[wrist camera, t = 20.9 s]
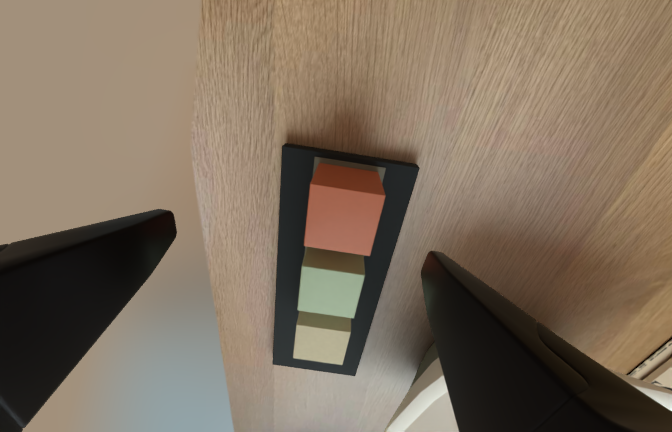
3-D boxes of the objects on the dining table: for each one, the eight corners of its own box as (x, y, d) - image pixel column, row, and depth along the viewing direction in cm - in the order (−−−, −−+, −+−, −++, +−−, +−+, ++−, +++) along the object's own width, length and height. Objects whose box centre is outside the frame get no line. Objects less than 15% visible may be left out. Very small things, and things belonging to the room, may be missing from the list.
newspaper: (596, 445, 36) (608, 461, 35) (549, 438, 36) (559, 454, 34) (746, 341, 25) (772, 358, 24) (680, 330, 25) (702, 346, 24)
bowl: (511, 422, 35) (556, 515, 27) (352, 390, 33) (352, 478, 26) (638, 314, 25) (764, 415, 17) (416, 262, 23) (448, 346, 16)
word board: (274, 356, 31) (260, 406, 26) (285, 142, 19) (262, 162, 14) (355, 368, 31) (355, 419, 26) (416, 163, 19) (438, 190, 14)
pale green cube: (306, 272, 23) (297, 310, 19) (310, 232, 21) (301, 265, 17) (353, 279, 23) (353, 319, 19) (362, 239, 21) (365, 275, 17)
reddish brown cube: (312, 215, 20) (303, 246, 16) (318, 162, 18) (310, 183, 14) (366, 223, 20) (370, 256, 16) (378, 171, 18) (386, 195, 14)
